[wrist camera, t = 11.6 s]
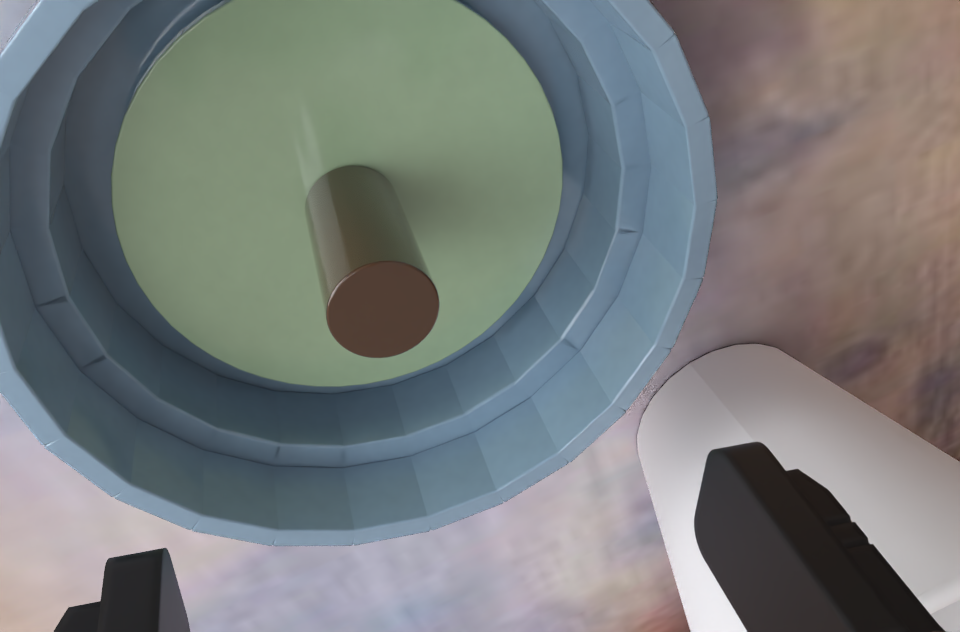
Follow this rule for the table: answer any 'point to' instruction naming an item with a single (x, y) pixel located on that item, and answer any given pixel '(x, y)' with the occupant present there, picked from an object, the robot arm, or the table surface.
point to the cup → (813, 450)
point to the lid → (336, 184)
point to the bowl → (358, 408)
